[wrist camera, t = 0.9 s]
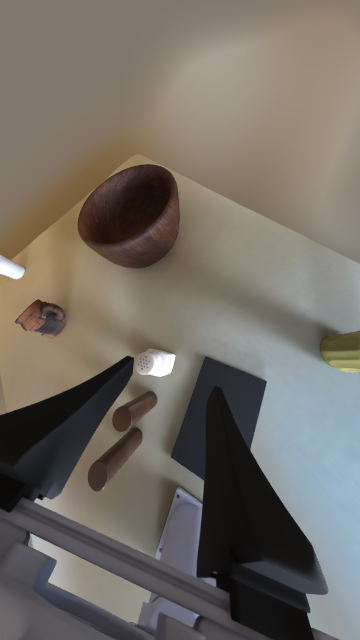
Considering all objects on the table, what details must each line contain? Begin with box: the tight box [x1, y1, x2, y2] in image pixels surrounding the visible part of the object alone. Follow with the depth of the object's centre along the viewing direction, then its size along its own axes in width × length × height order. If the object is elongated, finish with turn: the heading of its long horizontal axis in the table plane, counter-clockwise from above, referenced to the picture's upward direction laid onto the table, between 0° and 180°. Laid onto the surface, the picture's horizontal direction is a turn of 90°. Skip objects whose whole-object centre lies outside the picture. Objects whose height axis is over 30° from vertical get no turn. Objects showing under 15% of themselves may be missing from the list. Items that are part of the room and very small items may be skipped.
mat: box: [171, 357, 267, 480], centre depth 23 cm, size 18×11×1 cm, turn 158°
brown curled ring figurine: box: [15, 299, 66, 338], centre depth 36 cm, size 12×10×8 cm
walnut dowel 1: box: [112, 392, 157, 432], centre depth 22 cm, size 3×3×9 cm
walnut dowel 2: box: [88, 428, 142, 492], centre depth 21 cm, size 3×3×9 cm
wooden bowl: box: [78, 164, 180, 268], centre depth 34 cm, size 25×25×10 cm
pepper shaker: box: [134, 349, 175, 377], centre depth 23 cm, size 4×4×10 cm
